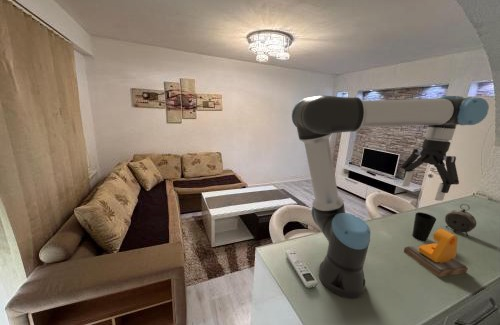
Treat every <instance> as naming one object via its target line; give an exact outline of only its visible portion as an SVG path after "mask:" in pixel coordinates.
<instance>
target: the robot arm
mask: <svg viewBox="0 0 500 325" xmlns="http://www.w3.org/2000/svg"><path fill="white" fill-rule="evenodd" d="M489 108H490V106H489V103H488V101H487V100H486V99H485V98H483V97H472V96H470V97H469V96H468V97H464V96H462V95H461V96H459V95H440V96H438V97H436V98H423V99H422V98H420V99H419V98H410V99H389V100H388V99H387V100H386V99H384V100H383V99H380V100H362V98H360V97H347V96H346V97H345V96H334V95H323V94H322V95H317V96H309V97H305V98H303V99H301V100H299V101H298V102H297V103H296V104H295V105H294V107H293V109H292V112H291V120H292V123H293V125H294V126H295V128H296V129H297V130H296V131H297V134H298V139H299V141H301V143H304V148H305V153H306V159H307V163H308V168H309V173H310V179H311V183H312V189H313V193H314V199H313V201H312V204H311V205H312V207H311V217H312V219H313V221H314V223H315V225H316V226H317V227H318V228H319V230H320V231H321V233H322V234H323V235H324V237H325V239H326V240H327V241H328V245H327V253H326V255H325V257H323V258H324V259H323V261H322V262H320V264H319V268H318V277H319V280H320V281H321V283H322V285H323V286H324V287H325V288H326V289H328V290H329V291H330V292H332V293H334V294H335V295H337V296H340V297H343V298H346V299H356V298H359V297H361V296H362V295H363V294H364V292H365V288H366V278H365V273H364V264H365V261H366V256H367V253H368V251H369V250H368V249H369V245H370V242H371V228H370V226H369V224H368V223H367V222H366V221H365V219H362V218H360V216H356V215H354V214H352V213H347V212H346V209H345V203H344V199H343V198H342V197H341V196H339V192H338V186H337V181H336V174H335V168H334V167H335V166H334V162H333V157H332V156H333V155H332V149H331V143H330V137H331V136H332V135H333V134H339V133H349V132H351V133H352V132H357V131H358V130H360V129H362V128H385V127H387V128H389V127H413V126H415V127H416V126H427V129H426V132H425V135H424V139H423V143H422V146H421V149H420V148H415V149H413V150H412V153H411V154H410V156H409V157H408V158H407V159H406V160H404V161H405V162H403V164H402V165H401V169H403V171H404V174H403V177H402V178H404V179H403V181H402V185H401V186H402V187H403V188H405V187H410V184H411V181H412V177H413V174H414V172H413V171H414V170H415V169H416V168H418V167H419V166H421V165H422V164H429V165H431V166H434V167H435V168H436V170H437V172H438V175H439V177H440V180H441V181H442V182H439V186H438V189H437V192H436V195H435V197H434V201H438V202H439V201H442V202H443V200H444V198H445V196H446V194H448V193H449V191H450V189H451V186H452V185H459V184H460V180H459V175H458V170H457V167H456V160H457V157H456V156H453V155H447V152H449V149H450V146H451V141H452V140H453V137H454V134H455V131H456V128H457V125H458V126H474V125H478V124H480V123H481V122H482V121H484V120H485V119H486V117H487V115H488V114H489V113H488V112H489ZM419 156H420V157H419Z"/></svg>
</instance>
